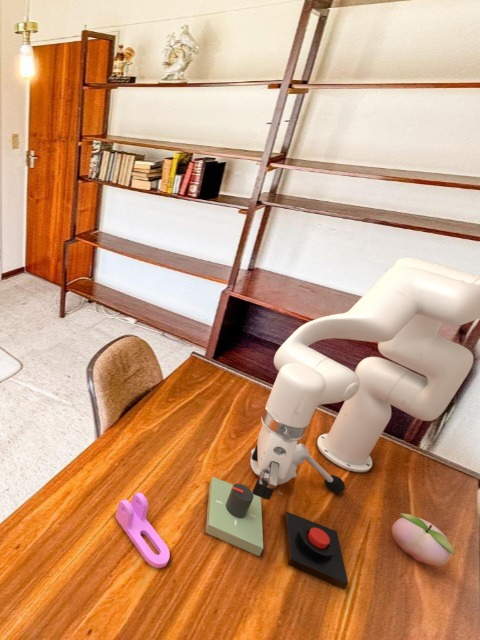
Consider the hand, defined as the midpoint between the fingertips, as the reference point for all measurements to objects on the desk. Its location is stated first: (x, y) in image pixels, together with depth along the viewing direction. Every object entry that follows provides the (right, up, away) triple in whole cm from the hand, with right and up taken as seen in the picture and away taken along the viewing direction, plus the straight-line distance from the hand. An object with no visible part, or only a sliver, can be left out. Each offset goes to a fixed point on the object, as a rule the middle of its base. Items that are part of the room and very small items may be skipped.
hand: (259, 477), depth 87 cm
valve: (+19, -9, +17) cm, 27 cm away
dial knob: (-2, -10, +6) cm, 12 cm away
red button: (+12, -13, -1) cm, 18 cm away
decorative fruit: (+34, -17, +1) cm, 38 cm away
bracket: (-25, -15, +2) cm, 29 cm away
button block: (+12, -17, +1) cm, 20 cm away
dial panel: (-2, -13, +7) cm, 15 cm away
